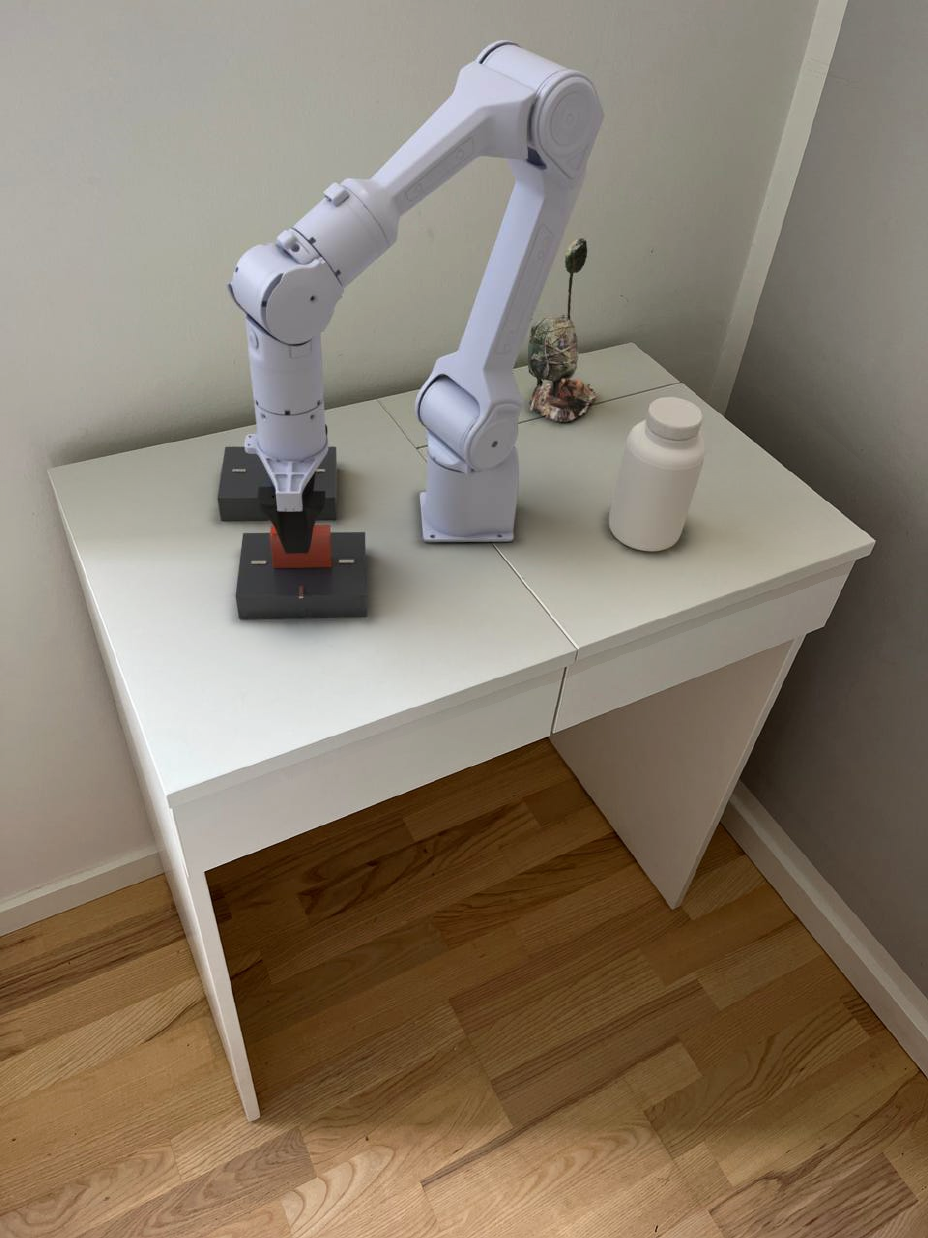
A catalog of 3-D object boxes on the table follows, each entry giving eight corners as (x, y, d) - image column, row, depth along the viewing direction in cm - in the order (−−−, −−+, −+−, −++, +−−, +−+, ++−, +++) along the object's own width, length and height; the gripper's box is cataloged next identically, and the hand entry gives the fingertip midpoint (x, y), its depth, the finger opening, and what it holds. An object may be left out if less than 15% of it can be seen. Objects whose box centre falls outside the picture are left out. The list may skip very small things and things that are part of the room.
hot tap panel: (365, 551, 97) (365, 528, 95) (366, 619, 90) (366, 595, 88) (246, 553, 96) (242, 529, 93) (238, 621, 89) (234, 597, 87)
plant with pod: (500, 403, 118) (516, 245, 104) (568, 377, 123) (592, 224, 109) (542, 435, 114) (564, 275, 99) (611, 407, 119) (641, 251, 104)
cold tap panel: (337, 466, 107) (336, 443, 104) (336, 522, 100) (335, 498, 98) (228, 466, 105) (225, 443, 103) (220, 522, 99) (216, 498, 96)
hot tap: (331, 556, 92) (330, 522, 89) (331, 567, 90) (330, 533, 87) (274, 557, 91) (270, 522, 88) (273, 568, 90) (269, 534, 87)
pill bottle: (679, 559, 99) (715, 440, 88) (603, 546, 100) (630, 426, 89) (682, 513, 105) (717, 395, 94) (610, 500, 105) (636, 382, 95)
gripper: (246, 350, 83) (260, 475, 92) (231, 447, 73) (248, 577, 82) (327, 351, 83) (333, 475, 93) (324, 448, 73) (330, 576, 83)
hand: (298, 523), depth 88 cm, fingers open, 7 cm apart
